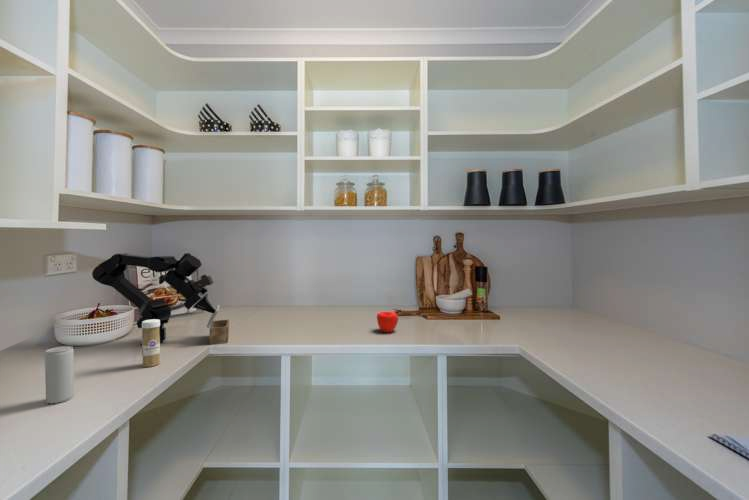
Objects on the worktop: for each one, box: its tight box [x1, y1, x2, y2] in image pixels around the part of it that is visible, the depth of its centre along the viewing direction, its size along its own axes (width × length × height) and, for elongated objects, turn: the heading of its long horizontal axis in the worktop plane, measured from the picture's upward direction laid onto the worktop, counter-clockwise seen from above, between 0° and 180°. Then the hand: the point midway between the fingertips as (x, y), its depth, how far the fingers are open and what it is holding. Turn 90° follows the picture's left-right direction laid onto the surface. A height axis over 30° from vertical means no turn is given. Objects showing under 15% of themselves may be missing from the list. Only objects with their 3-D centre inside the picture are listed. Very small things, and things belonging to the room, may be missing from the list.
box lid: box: [206, 304, 221, 329], centre depth 123 cm, size 6×13×1 cm
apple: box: [376, 311, 399, 333], centre depth 136 cm, size 9×9×8 cm
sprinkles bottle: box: [141, 319, 161, 368], centre depth 97 cm, size 5×5×14 cm
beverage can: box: [44, 345, 75, 404], centre depth 75 cm, size 5×5×12 cm
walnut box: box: [209, 319, 230, 345], centre depth 123 cm, size 6×12×6 cm, turn 22°
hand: (214, 312), depth 122 cm, fingers closed, pressing on box lid
